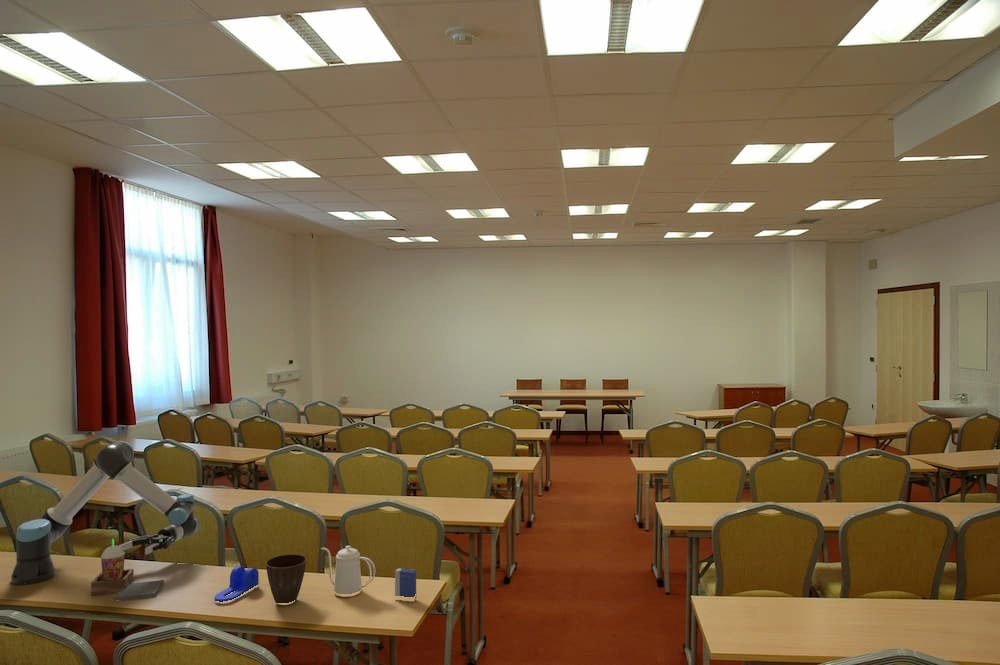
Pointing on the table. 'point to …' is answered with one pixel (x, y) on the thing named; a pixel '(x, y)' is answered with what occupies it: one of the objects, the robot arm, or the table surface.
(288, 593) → the plant pot
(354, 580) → the coffeepot
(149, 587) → the mat
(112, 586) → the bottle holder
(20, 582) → the robot arm
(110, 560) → the smoothie
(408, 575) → the walkman
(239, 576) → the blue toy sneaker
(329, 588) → the table surface
